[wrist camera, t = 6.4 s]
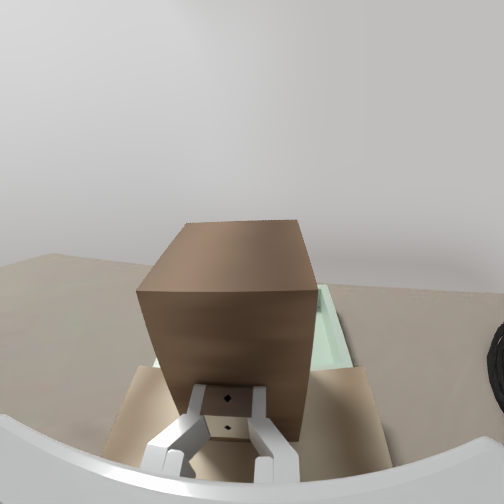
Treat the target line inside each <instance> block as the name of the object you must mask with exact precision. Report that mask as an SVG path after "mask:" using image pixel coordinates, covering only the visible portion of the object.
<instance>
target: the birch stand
mask: <svg viewBox="0 0 504 504" xmlns="http://www.w3.org/2000/svg"><path fill="white" fill-rule="evenodd" d="M179 417H180V415H179V413H178V410H177V408H176V406H175V403H174V401H173V398H172V396H171V394H170V391H169V389H168V386H167V383H166V381H165V378H164V376H163V373H162V370H161V368H157V367H148V366H138V369H137V371H136V373H135V375H134V378H133V380H132V382H131V384H130V387H129V389H128V391H127V394H126V396H125V398H124V400H123V403H122V405H121V408H120V410H119V412H118V415H117V417H116V420H115V422H114V424H113V427H112V429H111V432H110V434H109V437H108V439H107V442H106V444H105V447H104V449H103V452H102V455H101V457H102V458H105V459H108V460H111V461H115V462H118V463H122V464H125V465H129V466H133V467H137V468H140V465H141V462H142V458H143V455H144V452H145V449H146V446H147V444H148V443H149V442H150V441H151V440H152V439H154V438H155V437H156V436H157V435H159V434H160V433H161V432H162V431H163V430H165V429H166V428H167V427H168V426H169V425H171V424H172V423H173V422H174V421H175V420H177V419H178V418H179ZM288 443H289V444H290V445H291V446H292V448H293V449H294V450H295V451H296V452H297V454H298V455H299V473H300V482H309V481H320V480H329V479H337V478H344V477H350V476H356V475H362V474H367V473H372V472H377V471H381V470H386V469H390V468H393V466H392V462H391V458H390V454H389V450H388V446H387V443H386V439H385V435H384V432H383V428H382V424H381V421H380V417H379V414H378V410H377V407H376V404H375V400H374V397H373V394H372V391H371V387H370V384H369V381H368V378H367V375H366V372H365V369H364V366H359V367H350V368H339V369H328V370H314V371H310V374H309V381H308V388H307V395H306V401H305V408H304V414H303V420H302V426H301V432H300V437H299V442H288ZM258 457H261V456H260V455H259V453H258V452H257V450H256V448H255V447H254V445H253V444H252V443H250V442H225V441H211V440H208V441H207V442H206V443H205V445H204V446H203V447H202V448H201V449H200V450H199V451H198V452H197V453H196V454H195V456H194V457H193V458H192V459H191V460H190V461H189V463H190V465H191V466H192V468H193V470H194V471H195V473H196V478H195V479H202V480H211V481H222V482H237V483H254V472H255V459H256V458H258Z"/></svg>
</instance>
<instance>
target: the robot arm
mask: <svg viewBox="0 0 504 504" xmlns="http://www.w3.org/2000/svg"><path fill="white" fill-rule="evenodd" d="M210 437H229V438H245V439H250V440H251V442H252V444H253V445H254V447H255V448H256V450H257V452H258V453H259V455H260V456H261V457H258V458H256V459H255V472H254V483H237V482H222V481H211V480H202V479H195V478H196V473H195V471H194V470H193V468H192V466H191V465H190V463H189V461H190V460H191V459H192V458H193V457H194V456H195V454H196V453H197V452H198V451H199V450H200V449H201V448H202V447H203V446H204V445H205V443H206V442H207V441H208V440H209V439H210ZM0 504H504V445H502V444H501V443H499V442H497V441H495V440H493V439H492V438H490V437H487V436H482V437H479V438H476V439H474V440H472V441H470V442H468V443H465V444H463V445H461V446H458V447H456V448H453V449H451V450H448V451H445V452H443V453H440V454H437V455H434V456H431V457H428V458H425V459H422V460H419V461H416V462H412V463H409V464H405V465H402V466H398V467H394V468H390V469H386V470H381V471H377V472H372V473H367V474H362V475H356V476H350V477H344V478H337V479H329V480H320V481H309V482H300V473H299V455H298V454H297V452H296V451H295V450H294V449H293V448H292V446H291V445H290V444H289V443H288V442H287V440H286V439H285V438H284V437H283V435H282V434H281V433H280V432H279V430H278V429H277V428H276V426H275V425H274V424H273V423H272V421H271V420H270V419H269V418H266V386H216V385H203V384H195V385H194V387H193V390H192V394H191V398H190V402H189V406H188V410H187V414H182V415H181V416H180V417H179V418H178V419H177V420H175V421H174V422H173V423H172V424H171V425H169V426H168V427H167V428H166V429H165V430H163V431H162V432H161V433H160V434H159V435H157V436H156V437H155V438H154V439H152V440H151V441H150V442H149V443H148V444H147V446H146V449H145V452H144V455H143V458H142V462H141V465H140V468H137V467H133V466H129V465H125V464H122V463H118V462H115V461H111V460H108V459H105V458H102V457H99V456H96V455H93V454H90V453H87V452H84V451H82V450H79V449H76V448H74V447H71V446H69V445H66V444H64V443H62V442H59V441H57V440H55V439H52V438H50V437H48V436H46V435H44V434H42V433H40V432H38V431H36V430H34V429H32V428H30V427H28V426H26V425H24V424H22V423H20V422H18V421H16V420H15V419H13V418H11V417H10V416H8V415H5V414H1V415H0Z"/></svg>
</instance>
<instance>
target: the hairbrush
mask: <svg viewBox="0 0 504 504" xmlns="http://www.w3.org/2000/svg"><path fill="white" fill-rule="evenodd" d="M502 336H503V337H502ZM501 337H502V338H501ZM500 338H501V340H500ZM499 340H500V342H499ZM498 342H499V344H498ZM503 348H504V322H503V324H501V326H500V327H499V328H498V329H497V331H496V333H495V335H494V338H493V340H492V343H491V347H490V349H489V352H488V355H487V366H488V374H489V381H490V384H491V387H492V390H493V393H494V396H495V398H496V400H497V402H498V404H500V405H501V406H502V408H503V409H504V349H503ZM500 405H499V406H500ZM501 406H500V408H501ZM502 408H501V410H502V411H503V413H504V410H503V409H502Z"/></svg>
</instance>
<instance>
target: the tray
mask: <svg viewBox="0 0 504 504" xmlns="http://www.w3.org/2000/svg"><path fill="white" fill-rule="evenodd" d="M317 286H318V301H317V312H316V322H315V332H314V341H313V350H312V358H311V366H310V371H314V370H328V369H339V368H350V367H353V364H352V361H351V358H350V354H349V351H348V348H347V345H346V341H345V338H344V335H343V332H342V329H341V326H340V323H339V320H338V316H337V313H336V310H335V307H334V304H333V301H332V299H331V296H330V293H329V290H328V287H327V285H317ZM153 367H157V368H160V365H159V362H158V359H157V358H156V360H155V363H154V365H153Z"/></svg>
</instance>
